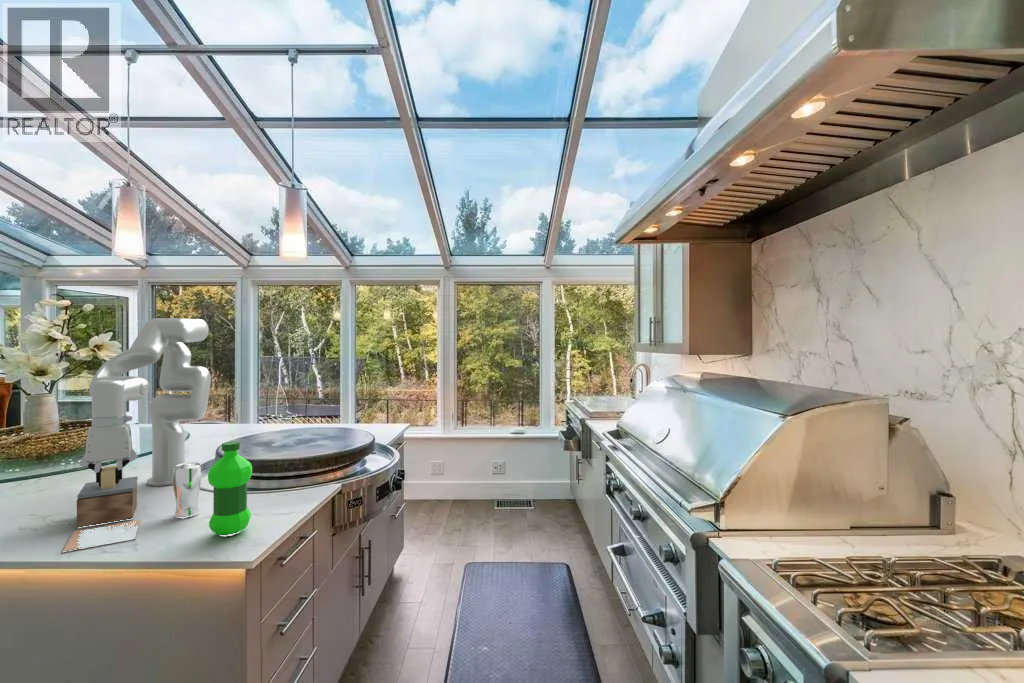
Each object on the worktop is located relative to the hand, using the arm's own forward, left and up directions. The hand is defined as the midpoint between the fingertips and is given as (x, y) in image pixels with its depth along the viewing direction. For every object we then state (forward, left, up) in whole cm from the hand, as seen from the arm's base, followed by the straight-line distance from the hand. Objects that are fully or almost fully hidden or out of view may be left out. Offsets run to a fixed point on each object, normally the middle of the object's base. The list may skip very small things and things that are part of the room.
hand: (109, 482), depth 136 cm
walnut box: (0, 0, -10) cm, 10 cm away
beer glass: (-19, +10, -10) cm, 24 cm away
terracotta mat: (-1, +16, -10) cm, 19 cm away
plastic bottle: (-29, +31, -10) cm, 44 cm away
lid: (0, 0, -3) cm, 3 cm away
